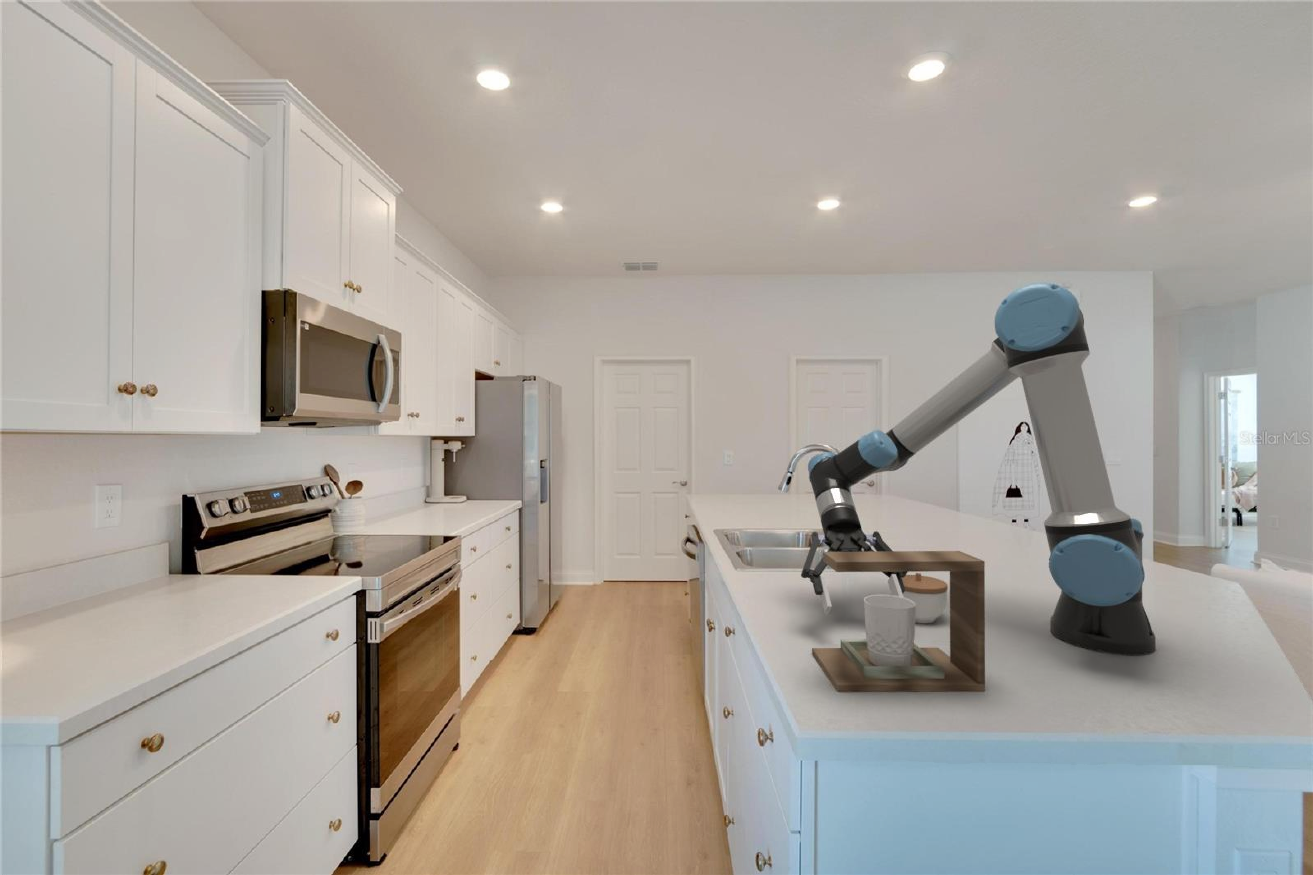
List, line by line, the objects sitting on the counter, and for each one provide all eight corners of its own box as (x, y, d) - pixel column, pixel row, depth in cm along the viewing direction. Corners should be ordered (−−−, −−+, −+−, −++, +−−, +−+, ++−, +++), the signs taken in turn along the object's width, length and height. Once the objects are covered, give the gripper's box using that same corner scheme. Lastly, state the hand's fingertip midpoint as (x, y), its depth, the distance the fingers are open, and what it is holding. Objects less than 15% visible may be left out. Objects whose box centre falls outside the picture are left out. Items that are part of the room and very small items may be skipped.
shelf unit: (937, 653, 96) (937, 542, 96) (984, 691, 82) (984, 561, 82) (812, 653, 96) (811, 543, 96) (837, 691, 82) (836, 562, 82)
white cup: (915, 656, 92) (915, 597, 92) (916, 676, 85) (916, 611, 85) (865, 649, 95) (865, 592, 95) (862, 667, 88) (862, 605, 88)
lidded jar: (949, 615, 115) (949, 571, 115) (945, 631, 106) (945, 583, 106) (895, 607, 121) (894, 564, 121) (886, 621, 112) (886, 575, 112)
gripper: (892, 525, 118) (926, 618, 103) (776, 526, 118) (793, 619, 103) (903, 504, 112) (940, 599, 98) (781, 505, 113) (800, 600, 98)
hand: (865, 610), depth 100 cm, fingers open, 13 cm apart
